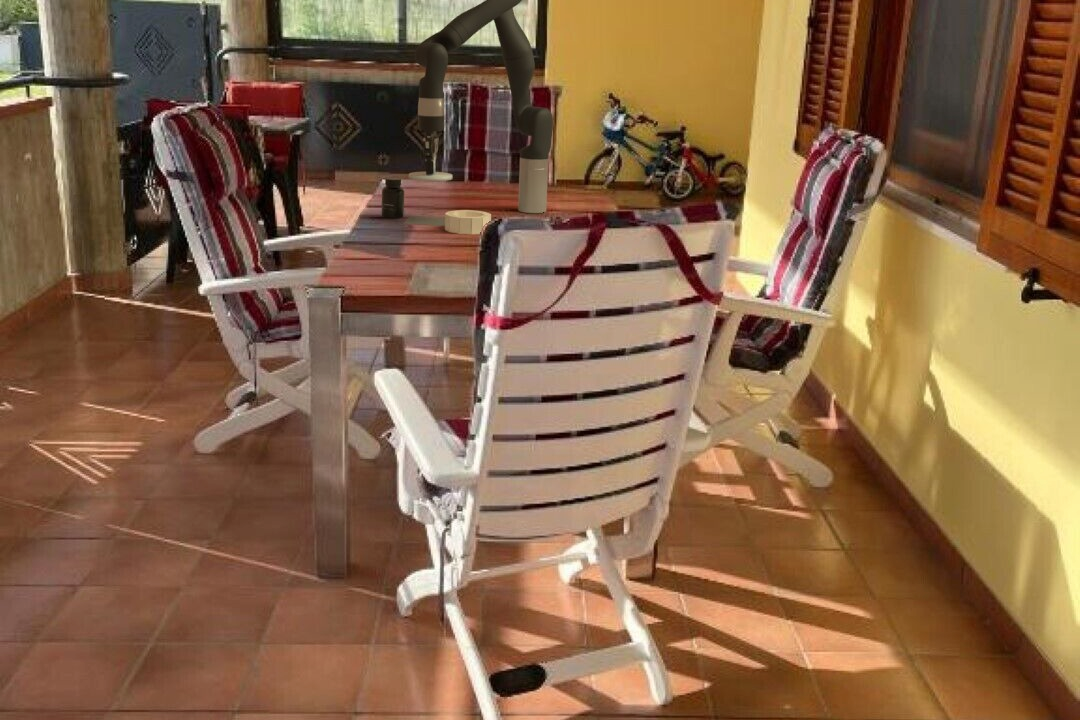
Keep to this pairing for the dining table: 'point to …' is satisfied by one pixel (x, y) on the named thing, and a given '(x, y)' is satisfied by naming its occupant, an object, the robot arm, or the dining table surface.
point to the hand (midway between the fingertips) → (430, 172)
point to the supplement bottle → (393, 199)
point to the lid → (430, 176)
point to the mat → (425, 221)
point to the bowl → (466, 221)
